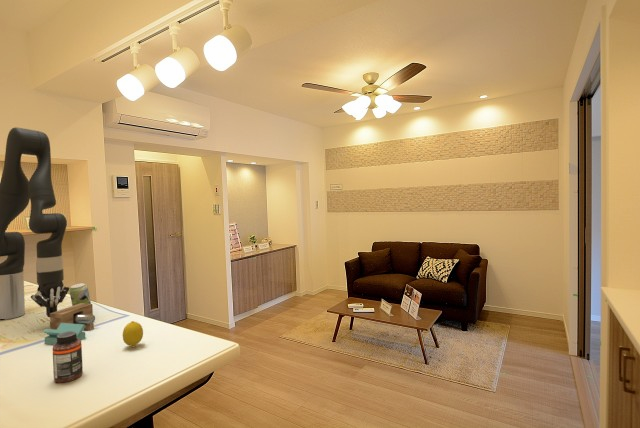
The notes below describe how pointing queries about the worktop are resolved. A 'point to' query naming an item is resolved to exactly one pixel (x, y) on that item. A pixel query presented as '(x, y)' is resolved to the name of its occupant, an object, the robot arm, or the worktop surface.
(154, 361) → the worktop surface
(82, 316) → the axle
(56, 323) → the brown wooden block
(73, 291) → the beverage can
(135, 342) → the lemon
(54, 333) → the v block
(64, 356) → the supplement bottle
